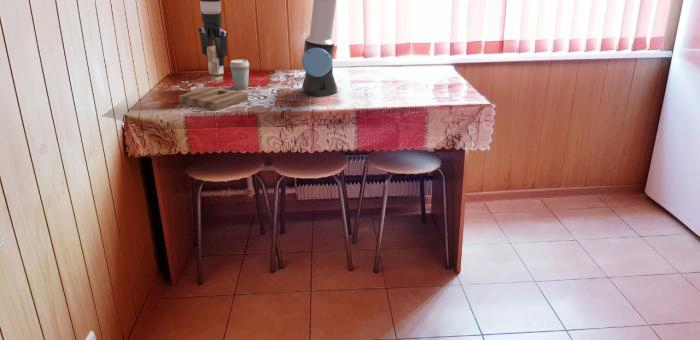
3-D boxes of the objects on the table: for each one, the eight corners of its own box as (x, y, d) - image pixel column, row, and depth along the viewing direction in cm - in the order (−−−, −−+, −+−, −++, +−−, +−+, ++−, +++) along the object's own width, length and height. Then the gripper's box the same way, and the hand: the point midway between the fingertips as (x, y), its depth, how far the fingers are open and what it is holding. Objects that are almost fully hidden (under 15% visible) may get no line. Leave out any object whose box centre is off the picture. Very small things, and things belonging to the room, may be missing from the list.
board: (248, 100, 211) (247, 92, 210) (216, 110, 197) (215, 103, 195) (212, 93, 220) (212, 86, 219) (180, 102, 206) (179, 95, 205)
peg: (224, 81, 208) (221, 46, 203) (217, 83, 205) (214, 48, 200) (217, 80, 210) (214, 45, 205) (209, 82, 207) (206, 46, 202)
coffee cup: (246, 90, 225) (244, 63, 220) (228, 89, 226) (226, 62, 221) (254, 86, 232) (252, 59, 228) (236, 85, 234) (234, 58, 229)
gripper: (234, 13, 196) (238, 74, 205) (202, 10, 204) (207, 68, 213) (220, 15, 190) (225, 77, 199) (188, 11, 198) (194, 71, 208)
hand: (216, 72), depth 206 cm, fingers closed on peg, 4 cm apart
